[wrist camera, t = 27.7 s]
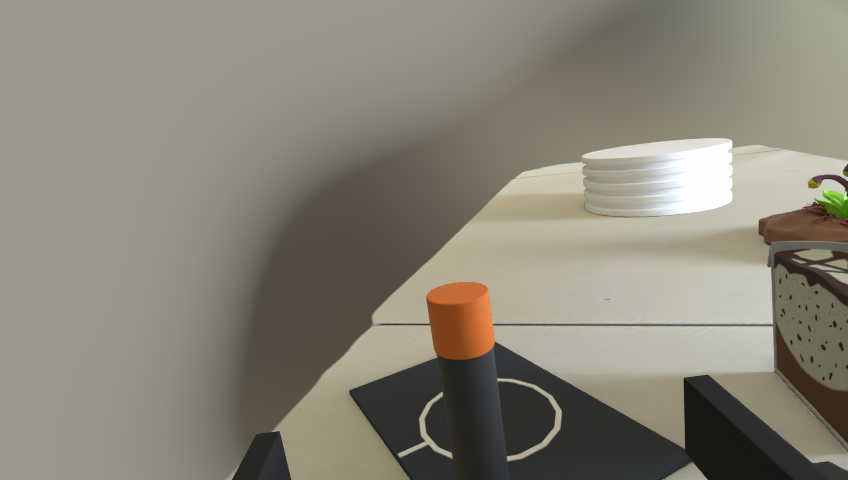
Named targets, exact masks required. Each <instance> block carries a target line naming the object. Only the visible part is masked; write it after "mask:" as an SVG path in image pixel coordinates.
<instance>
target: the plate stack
mask: <svg viewBox="0 0 848 480" xmlns="http://www.w3.org/2000/svg"><path fill="white" fill-rule="evenodd" d="M730 148H732V140H730V139H720V138H719V139H718V138H710V139H690V140H689V139H688V140H675V141H665V142H655V143H646V144H638V145H630V146H624V147H616V148H610V149H605V150H600V151H595V152H591V153H588V154H585V155H583V156H582V163H584V164H586V166H584V167H583V168H582V170H583V175H585V176H587V177H585V178H584V179H583V184H584V186H585V187H586V189H585V190H584V197H585V198H586V199H587V200H586V201H585V209H586V210H587V211H589V212H592V213H595V214H600V215H608V216H622V217H649V216H666V215H677V214H686V213H693V212H699V211H704V210H709V209H713V208H717V207H720V206H723V205H725V204H727V203H729V202H730V201H731V200H732V192H731V191H730V190H729V189H730V188H731V187H732V179H731V178H729V177H728V176H730V175H731V174H732V166H730V165H728V164H727V163H730V162H731V161H732V153H730V152H727V150H728V149H730Z"/></svg>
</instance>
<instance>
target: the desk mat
mask: <svg viewBox="0 0 848 480" xmlns="http://www.w3.org/2000/svg"><path fill="white" fill-rule="evenodd" d="M493 348H494V356H495V364H496V372H497V381H498V389H499V397H500V405H501V413H502V421H503V430H504V438H505V446H506V454H507V462H508V470H509V479H510V480H662V479H663V478H665V477H666V476H668V475H670V474H671V473H673V472H674V471H676V470H678V469H679V468H681V467H682V466H684V465H685V464H687V463H689V462H690V461H692V460H691V459H690V458H689V456H688V455H687V454H686V453H685V449H684V448H682V447H680V446H679V445H677V444H675V443H673V442H671V441H670V440H668V439H666V438H664V437H663V436H661V435H659V434H657V433H656V432H654V431H652V430H650V429H648V428H647V427H645V426H643V425H641V424H640V423H638V422H636V421H634V420H633V419H631V418H629V417H627V416H626V415H624V414H622V413H620V412H618V411H617V410H615V409H613V408H611V407H610V406H608V405H606V404H604V403H603V402H601V401H599V400H597V399H595V398H594V397H592V396H590V395H588V394H587V393H585V392H583V391H581V390H580V389H578V388H576V387H574V386H573V385H571V384H569V383H567V382H565V381H564V380H562V379H560V378H558V377H557V376H555V375H553V374H551V373H550V372H548V371H546V370H544V369H542V368H541V367H539V366H537V365H535V364H534V363H532V362H530V361H528V360H527V359H525V358H523V357H521V356H520V355H518V354H516V353H514V352H512V351H511V350H509V349H507V348H505V347H504V346H502V345H500V344H498V343H497V342H495V344H494V346H493ZM349 392H350V395H351V396H352V397H353V399H354V400H355V402H356V403H357V404H358V406H359V407H360V409H361V410H362V411H363V413H364V414H365V416H366V417H367V418H368V420H369V421H370V423H371V424H372V425H373V427H374V428H375V430H376V431H377V432H378V434H379V435H380V437H381V438H382V439H383V441H384V442H385V443H386V445H387V446H388V448H389V449H390V450H391V452H392V453H393V455H394V456H395V457H396V459H397V460H398V462H399V463H400V464H401V466H402V467H403V469H404V470H405V471H406V473H407V474H408V476H409V477H410V478H411V480H456V478H455V471H454V465H453V458H452V451H451V445H450V438H449V432H448V425H447V418H446V412H445V405H444V399H443V392H442V385H441V379H440V372H439V365H438V359H437V358H435V359H432V360H430V361H427V362H424V363H422V364H419V365H416V366H414V367H411V368H408V369H406V370H403V371H400V372H397V373H395V374H392V375H389V376H387V377H384V378H381V379H379V380H376V381H373V382H371V383H368V384H365V385H363V386H360V387H357V388H354V389H352V390H349Z"/></svg>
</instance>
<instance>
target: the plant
mask: <svg viewBox="0 0 848 480" xmlns="http://www.w3.org/2000/svg"><path fill="white" fill-rule="evenodd" d="M843 174H844V176H846V177H848V164H847V166H846V167H845V168H844V170H843ZM824 179H832V180H835V181H837V182H839V183H840V184H841V185H843V186H844V187H845V195H844V196H843V195H842V194H840V193H837V192H833V191H827V190H824V191H823V194H822V195H823V196H824V197H825V198H827V199H828V202H827V201H822V200H818V199H816V198H815V199H814V200H816V201H817V202H818V204H817V203H816V202H813V204H812V206H807V205H806V206H807V207H803V208H805V209H803V208H802V209H800V210H796V211H792V212H787V213H783V214H777V215H772V216H769V217H767V218H763V219H760V220H759V234H761V235H764V241H765V242H766V243H769V244H771V242H780V241H825V242H840V243H848V181H847V180H845V179H844V178H842V177H840V176H837V175H822V176H821V175H820V176H816V177H813V178H812V179H810V180H809V181H808V186H809V187H808V188H817V187H819V186H820V184H821V183H822V181H823V180H824ZM814 203H815V204H814ZM821 204H822V205H821ZM809 205H810V204H809Z"/></svg>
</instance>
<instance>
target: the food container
mask: <svg viewBox="0 0 848 480" xmlns="http://www.w3.org/2000/svg"><path fill="white" fill-rule="evenodd" d="M767 266H768V267H771V275H772V306H773V337H774V367H775V372H776V373H777V374H778V375H779V376H780V377H781V378H782V379H783V380H784V381H785V382H786V384H787V385H788V386H789V387H790V388H791V389H792V390H793V391H794V392H795V393H796V394H797V396H798V397H799V398H800V399H801V400H802V401H803V402H804V403H805V404H806V405H807V406H808V408H809V409H810V410H811V411H812V412H813V413H814V414H815V415H816V416H817V417H818V418H819V419H820V421H821V422H822V423H823V424H824V425H825V426H826V427H827V428H828V429H829V430H830V431H831V433H832V434H833V435H834V436H835V437H836V438H837V439H838V440H839V441H840V442H841V443H842V444H843V446H844V447H845V448H846V449H847V450H848V243H840V242H825V241H780V242H771V249H769V256H768V264H767Z"/></svg>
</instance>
